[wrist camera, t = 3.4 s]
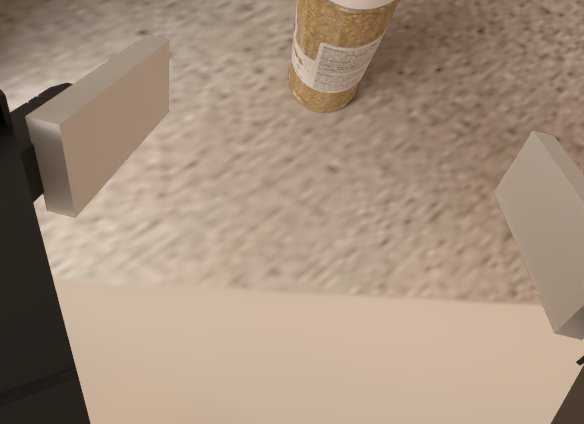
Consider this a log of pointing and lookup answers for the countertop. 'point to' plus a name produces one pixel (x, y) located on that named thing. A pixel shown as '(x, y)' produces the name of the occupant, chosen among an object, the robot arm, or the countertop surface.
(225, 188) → the countertop surface
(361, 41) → the sprinkles bottle
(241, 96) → the countertop surface
